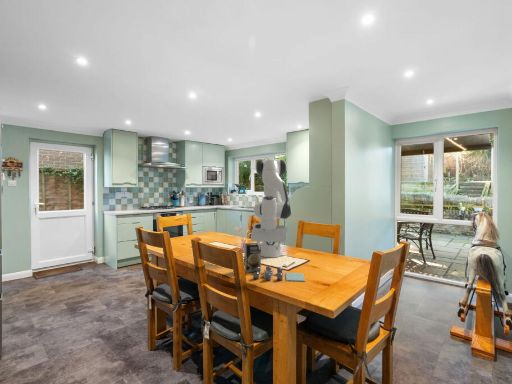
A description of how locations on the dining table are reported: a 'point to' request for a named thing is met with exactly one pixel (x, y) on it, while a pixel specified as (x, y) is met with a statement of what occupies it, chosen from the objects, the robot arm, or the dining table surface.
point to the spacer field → (268, 274)
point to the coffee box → (252, 257)
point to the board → (295, 277)
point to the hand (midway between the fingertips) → (268, 249)
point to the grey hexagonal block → (268, 272)
